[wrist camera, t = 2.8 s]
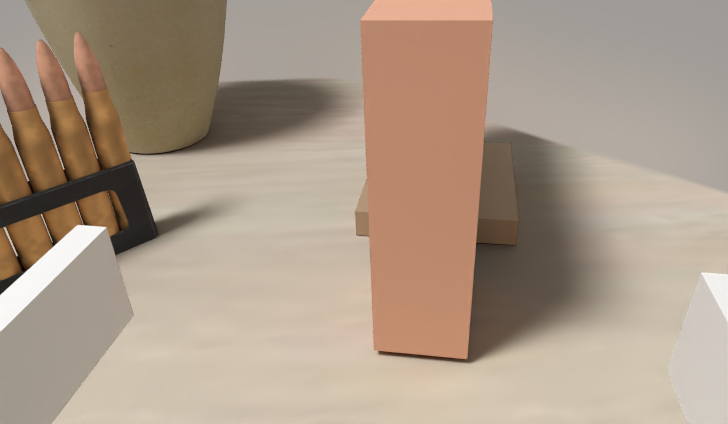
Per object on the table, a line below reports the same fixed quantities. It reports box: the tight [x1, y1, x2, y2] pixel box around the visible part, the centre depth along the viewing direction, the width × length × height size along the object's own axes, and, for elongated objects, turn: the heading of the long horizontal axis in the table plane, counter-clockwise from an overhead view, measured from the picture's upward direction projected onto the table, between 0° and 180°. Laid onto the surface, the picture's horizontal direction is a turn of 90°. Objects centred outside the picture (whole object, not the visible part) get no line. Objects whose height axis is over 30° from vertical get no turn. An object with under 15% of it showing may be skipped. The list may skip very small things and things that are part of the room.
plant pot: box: [25, 0, 227, 154], centre depth 43 cm, size 15×15×16 cm
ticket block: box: [355, 1, 519, 245], centre depth 32 cm, size 14×9×14 cm, turn 170°
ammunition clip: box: [0, 32, 158, 295], centre depth 29 cm, size 11×2×12 cm, turn 132°
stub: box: [360, 0, 493, 359], centre depth 24 cm, size 6×4×14 cm, turn 170°
